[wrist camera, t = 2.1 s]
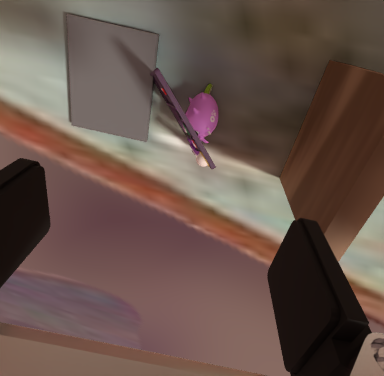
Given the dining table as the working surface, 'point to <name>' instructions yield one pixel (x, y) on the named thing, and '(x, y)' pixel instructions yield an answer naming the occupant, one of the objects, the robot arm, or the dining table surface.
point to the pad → (111, 77)
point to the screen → (339, 155)
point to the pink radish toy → (192, 117)
